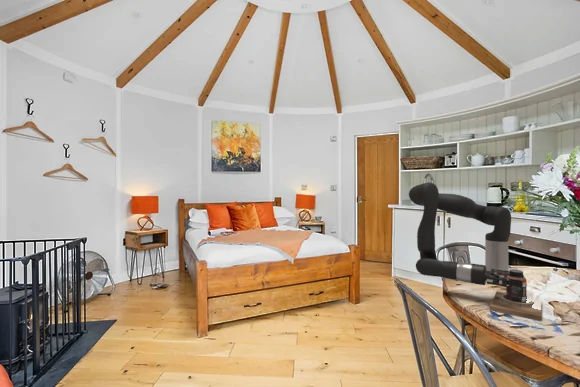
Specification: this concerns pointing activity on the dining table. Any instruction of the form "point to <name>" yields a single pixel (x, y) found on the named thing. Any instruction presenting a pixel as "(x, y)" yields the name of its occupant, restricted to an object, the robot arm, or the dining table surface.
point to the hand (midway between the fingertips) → (523, 280)
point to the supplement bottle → (517, 292)
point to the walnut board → (514, 307)
